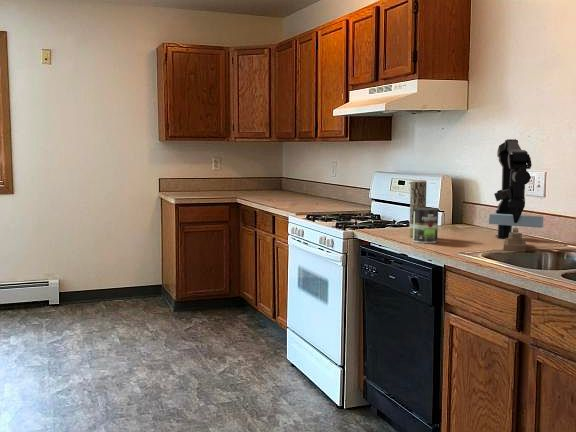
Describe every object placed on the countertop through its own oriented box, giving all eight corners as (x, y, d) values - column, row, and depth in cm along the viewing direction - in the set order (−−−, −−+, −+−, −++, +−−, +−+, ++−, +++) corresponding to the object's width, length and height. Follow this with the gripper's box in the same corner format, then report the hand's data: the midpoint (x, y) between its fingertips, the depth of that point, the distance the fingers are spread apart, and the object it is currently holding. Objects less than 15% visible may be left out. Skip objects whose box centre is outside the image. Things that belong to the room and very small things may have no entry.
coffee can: (441, 243, 263) (442, 209, 261) (418, 243, 261) (419, 210, 259) (431, 239, 273) (432, 206, 271) (408, 240, 271) (409, 207, 269)
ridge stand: (504, 243, 262) (505, 227, 262) (525, 244, 260) (526, 228, 259) (503, 250, 246) (504, 233, 245) (525, 251, 243) (526, 234, 242)
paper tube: (422, 235, 282) (424, 179, 279) (426, 238, 275) (428, 180, 272) (407, 235, 282) (409, 179, 279) (411, 238, 275) (412, 181, 272)
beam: (491, 223, 259) (491, 213, 258) (543, 226, 248) (543, 216, 247) (489, 224, 256) (489, 214, 255) (541, 227, 245) (541, 217, 244)
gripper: (496, 181, 261) (495, 218, 263) (495, 184, 244) (493, 224, 246) (525, 181, 257) (523, 219, 259) (525, 185, 240) (523, 225, 242)
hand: (515, 222), depth 252 cm, fingers closed on beam, 4 cm apart
